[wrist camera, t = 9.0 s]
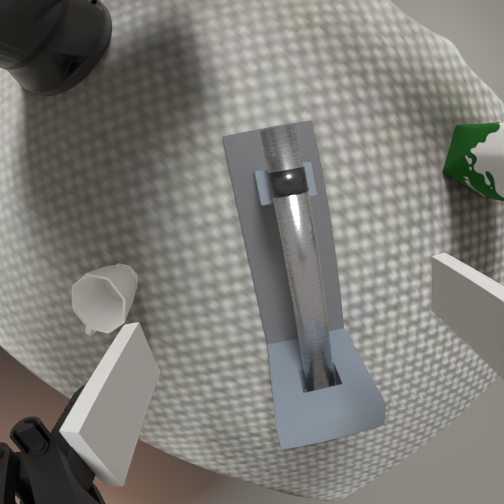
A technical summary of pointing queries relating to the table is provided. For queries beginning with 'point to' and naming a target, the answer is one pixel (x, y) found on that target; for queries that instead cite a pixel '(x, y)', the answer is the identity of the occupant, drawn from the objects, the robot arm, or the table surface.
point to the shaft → (300, 252)
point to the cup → (104, 297)
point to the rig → (281, 306)
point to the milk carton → (478, 158)
